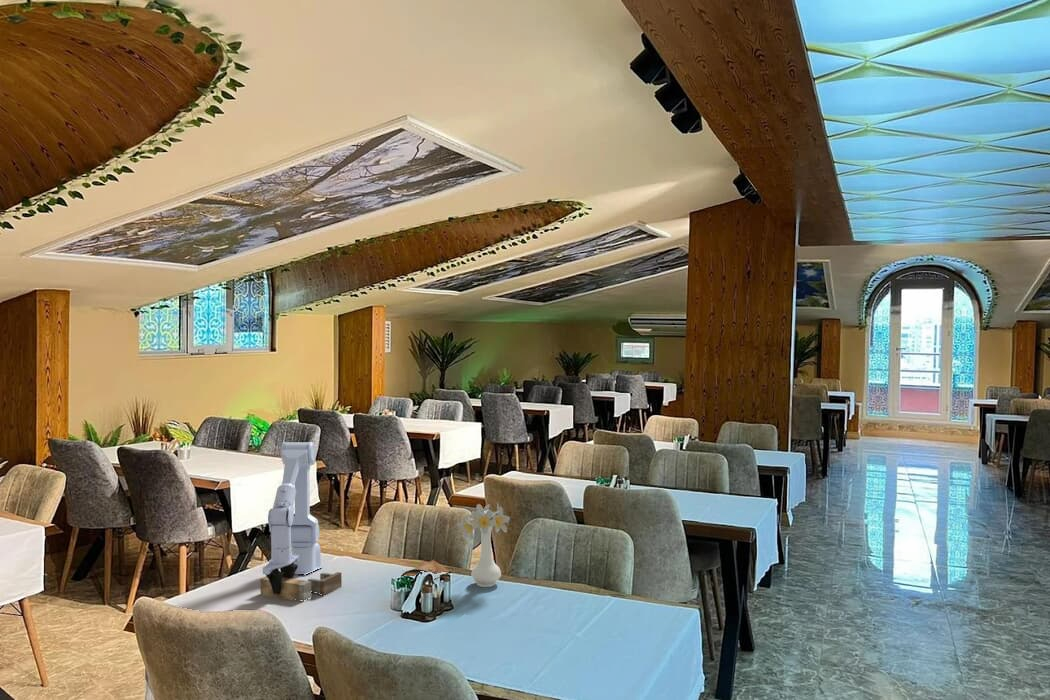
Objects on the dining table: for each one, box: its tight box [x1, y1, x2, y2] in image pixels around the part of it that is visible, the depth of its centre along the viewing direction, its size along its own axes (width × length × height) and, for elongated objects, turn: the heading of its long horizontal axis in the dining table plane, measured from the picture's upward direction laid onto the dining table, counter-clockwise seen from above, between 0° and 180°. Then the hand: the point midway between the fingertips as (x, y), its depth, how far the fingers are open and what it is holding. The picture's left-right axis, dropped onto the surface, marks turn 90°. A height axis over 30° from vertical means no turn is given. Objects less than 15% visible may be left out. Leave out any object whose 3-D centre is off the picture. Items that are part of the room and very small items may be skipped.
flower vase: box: [456, 502, 511, 588], centre depth 254 cm, size 13×18×25 cm
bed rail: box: [259, 575, 312, 601], centre depth 244 cm, size 16×4×5 cm, turn 68°
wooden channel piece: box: [307, 571, 343, 596], centre depth 250 cm, size 6×9×4 cm
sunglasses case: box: [400, 559, 450, 577], centre depth 262 cm, size 18×7×7 cm
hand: (281, 591), depth 245 cm, fingers open, 4 cm apart
